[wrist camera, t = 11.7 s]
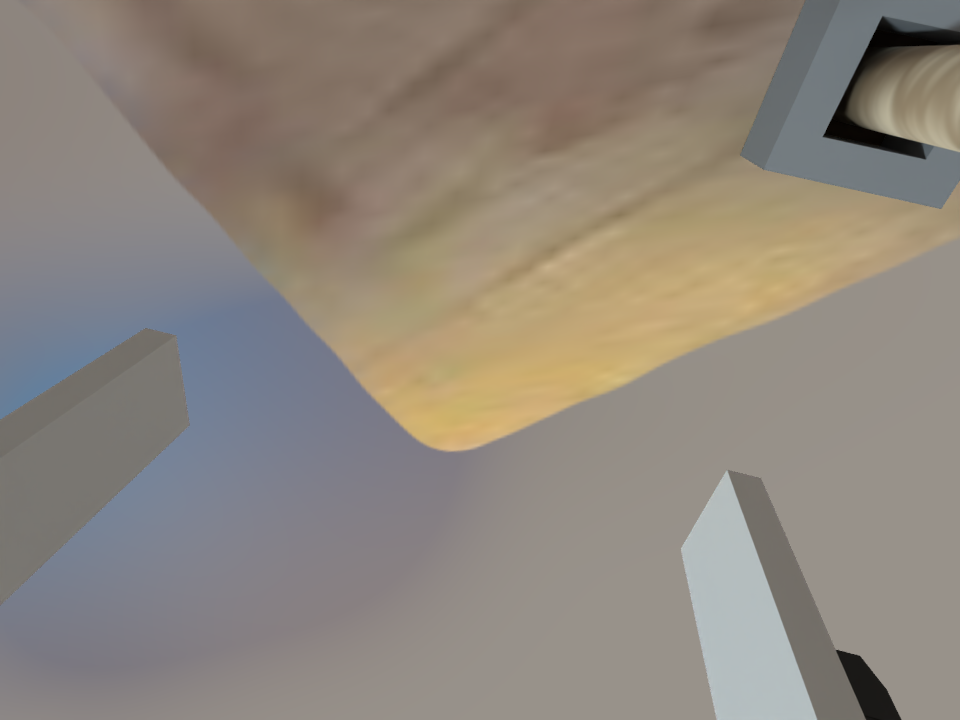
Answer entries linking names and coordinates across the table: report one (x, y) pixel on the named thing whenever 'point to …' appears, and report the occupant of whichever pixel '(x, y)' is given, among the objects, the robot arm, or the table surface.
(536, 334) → the table surface
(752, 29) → the table surface
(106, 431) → the robot arm
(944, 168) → the socket
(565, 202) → the table surface
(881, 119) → the peg
